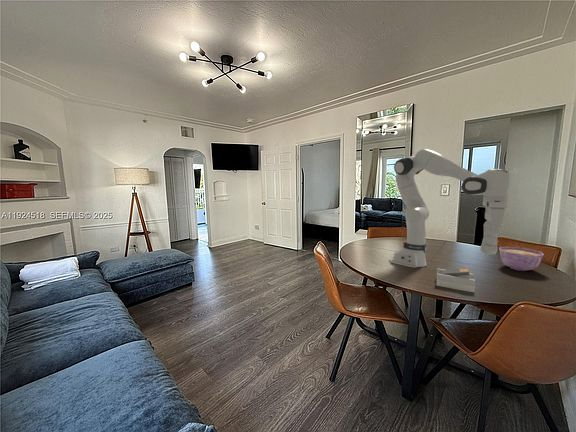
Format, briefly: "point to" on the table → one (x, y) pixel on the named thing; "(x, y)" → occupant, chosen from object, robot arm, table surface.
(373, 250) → the table surface
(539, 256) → the bowl of food
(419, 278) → the table surface
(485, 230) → the plastic bottle
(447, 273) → the gray and orange tool
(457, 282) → the box
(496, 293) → the table surface
